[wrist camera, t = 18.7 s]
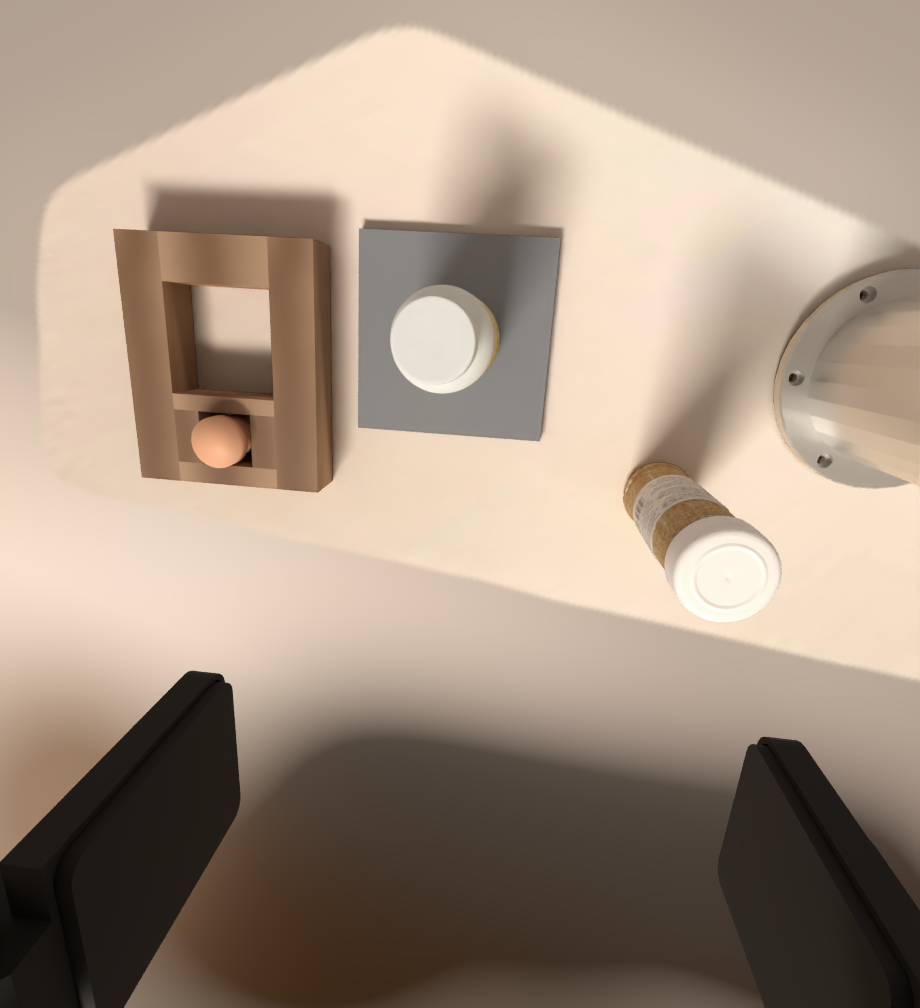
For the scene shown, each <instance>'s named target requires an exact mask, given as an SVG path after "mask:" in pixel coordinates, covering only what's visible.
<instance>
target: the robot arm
mask: <svg viewBox="0 0 920 1008" xmlns="http://www.w3.org/2000/svg"><path fill="white" fill-rule="evenodd" d="M861 292H862V293H863V297H862V299H860V293H861ZM791 373H792V374H793V379H792V380H791V381H789V376H790V374H791ZM773 403H774V411H775V419H776V423H777V425H778V428H779V431H780V434H781V437H782V439H783V440H784V442H785V443H786V445H787V446H788V448H789V450H790V451H791V453H792V454H793V455H794V456H795V457H796V458H797V459H798V460H799V461H800V462H801V463H802V464H803V465H804V466H806V467H808V468H809V469H811V470H812V471H814V472H815V473H817V474H819V475H820V476H823V477H825V478H827V479H830V480H832V481H834V482H836V483H840V484H844V485H847V486H851V487H856V488H868V489H880V488H891V487H898V486H902V485H906V484H910V483H913V484H916V485H918V486H920V268H912V269H901V270H895V271H889V272H884V273H880V274H877V275H874V276H871V277H868V278H865V279H862V280H859V281H857V282H856V283H854V284H852V285H850V286H848V287H846V288H844V289H842V290H840V291H838V292H837V293H836V294H834V295H833V296H832V297H830V298H829V299H828V300H826V301H825V302H824V303H822V304H821V305H819V307H818V308H817V309H816V310H815V311H814V312H813V313H812V314H811V315H810V316H809V317H808V318H807V319H806V320H805V321H804V322H803V323H802V324H801V326H800V327H799V329H798V330H797V332H796V333H795V334H794V336H793V337H792V339H791V340H790V342H789V344H788V346H787V348H786V350H785V352H784V354H783V356H782V358H781V361H780V364H779V368H778V371H777V375H776V379H775V384H774V398H773ZM820 456H821V459H820V460H819V461H818V462H817V460H818V458H819V457H820ZM239 805H240V784H239V770H238V757H237V744H236V730H235V717H234V704H233V691H232V686H231V685H230V684H229V683H225V680H224V677H223V676H222V675H221V674H216V673H208V672H198V671H189V672H187V673H186V674H185V675H184V676H183V677H182V678H181V679H180V680H179V681H178V682H177V683H176V684H175V685H174V686H173V687H172V688H171V689H170V690H169V691H168V692H167V693H166V694H165V695H164V696H163V697H162V698H161V699H160V700H159V701H158V702H157V703H156V704H155V705H154V706H153V707H152V708H151V709H150V710H149V711H148V712H147V713H146V714H145V715H144V716H143V717H142V718H141V719H140V720H139V721H138V722H137V723H136V724H135V725H134V726H133V727H132V729H130V730H129V732H128V733H127V734H126V735H125V736H124V737H123V738H122V739H121V740H120V741H119V742H118V743H117V744H116V745H115V746H114V747H113V748H112V749H111V750H110V751H109V752H108V753H107V754H106V755H105V756H104V757H103V758H102V759H101V760H100V761H99V762H98V763H97V764H96V765H95V766H94V767H93V768H92V769H91V770H90V771H89V772H88V773H87V774H86V775H85V776H84V777H83V778H82V779H81V780H80V781H79V782H78V783H77V784H76V785H75V786H74V787H73V788H72V789H71V790H70V791H69V793H67V794H66V796H64V798H63V799H62V800H61V801H60V802H59V803H58V804H57V805H56V806H55V807H54V808H53V809H52V810H51V811H50V812H49V813H48V814H47V815H46V816H45V817H44V818H43V819H42V820H41V821H40V822H39V823H38V824H37V825H36V826H35V827H34V828H33V829H32V830H31V831H30V832H29V833H28V834H27V835H26V836H25V837H24V838H23V839H22V840H21V841H20V842H19V843H18V844H17V845H16V846H15V847H14V848H13V849H12V850H11V851H10V852H9V854H7V855H6V857H5V858H4V859H3V860H2V861H1V862H0V1008H124V1006H125V1004H126V1003H127V1001H128V999H129V998H130V996H131V994H132V993H133V991H134V989H135V987H136V986H137V984H138V982H139V981H140V979H141V977H142V975H143V974H144V972H145V970H146V969H147V967H148V965H149V964H150V962H151V960H152V958H153V957H154V955H155V953H156V952H157V950H158V948H159V946H160V945H161V943H162V942H163V940H164V938H165V936H166V934H167V933H168V931H169V930H170V928H171V926H172V925H173V923H174V921H175V919H176V918H177V916H178V914H179V913H180V911H181V909H182V907H183V906H184V904H185V902H186V901H187V899H188V897H189V896H190V894H191V892H192V890H193V889H194V887H195V885H196V884H197V882H198V880H199V878H200V877H201V875H202V873H203V872H204V870H205V868H206V867H207V865H208V863H209V862H210V860H211V858H212V856H213V854H214V853H215V851H216V850H217V848H218V846H219V844H220V843H221V841H222V839H223V838H224V836H225V834H226V833H227V831H228V829H229V827H230V826H231V824H232V822H233V821H234V819H235V817H236V814H237V812H238V809H239ZM718 876H719V881H720V885H721V888H722V891H723V893H724V896H725V899H726V902H727V905H728V907H729V910H730V913H731V916H732V918H733V921H734V924H735V926H736V929H737V932H738V935H739V937H740V940H741V943H742V946H743V949H744V951H745V954H746V957H747V960H748V962H749V965H750V968H751V971H752V973H753V976H754V979H755V981H756V984H757V987H758V990H759V993H760V995H761V998H762V1001H763V1004H764V1006H765V1008H920V910H919V909H918V907H917V906H916V904H915V903H914V902H913V900H912V899H911V898H910V896H909V894H908V893H907V892H906V890H905V889H904V887H903V886H902V885H901V883H900V881H899V880H898V879H897V877H896V876H895V874H894V873H893V871H892V870H891V869H890V867H889V866H888V864H887V863H886V861H885V860H884V858H883V857H882V856H881V854H880V853H879V851H878V850H877V849H876V847H875V846H874V845H873V843H872V842H871V841H870V840H869V839H868V837H867V836H866V835H865V833H864V832H863V830H862V829H861V828H860V826H859V825H858V823H857V822H856V820H855V819H854V817H853V816H852V814H851V813H850V811H849V810H848V809H847V807H846V806H845V804H844V803H843V801H842V800H841V798H840V797H839V795H838V794H837V793H836V791H835V790H834V788H833V787H832V785H831V784H830V782H829V781H828V780H827V778H826V777H825V775H824V774H823V772H822V771H821V770H820V768H819V767H818V765H817V764H816V762H815V761H814V759H813V758H812V756H811V755H810V753H809V752H808V751H807V749H806V748H805V746H804V745H803V744H802V743H801V742H799V741H797V740H788V739H780V738H771V737H761V738H760V740H759V741H758V743H757V745H755V744H752V745H750V746H749V747H748V749H747V752H746V756H745V759H744V763H743V767H742V771H741V775H740V779H739V783H738V787H737V790H736V794H735V798H734V802H733V806H732V810H731V813H730V818H729V821H728V825H727V829H726V833H725V837H724V841H723V845H722V848H721V852H720V856H719V860H718Z"/></svg>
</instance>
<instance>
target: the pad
mask: <svg viewBox="0 0 920 1008" xmlns="http://www.w3.org/2000/svg"><path fill="white" fill-rule="evenodd" d="M560 241H561V238H551V237H530V236H509V235H487V234H466V233H445V232H424V231H402V230H381V229H360V228H359V386H358V427H359V428H372V429H385V430H398V431H411V432H424V433H438V434H451V435H464V436H477V437H490V438H503V439H516V440H529V441H540V436H541V426H542V417H543V407H544V397H545V387H546V378H547V368H548V358H549V348H550V339H551V329H552V319H553V310H554V300H555V290H556V280H557V271H558V261H559V251H560ZM433 285H451V286H455V287H459V288H461V289H464V290H466V291H468V292H469V293H471V294H472V295H474V296H475V297H476V298H478V299H479V300H481V301H482V302H483V303H484V304H485V305H486V306H487V307H488V308H489V309H490V311H491V312H492V314H493V315H494V317H495V319H496V322H497V325H498V329H499V348H498V352H497V355H496V357H495V359H494V361H493V363H492V365H491V366H490V367H489V368H488V370H487V371H486V372H485V373H484V374H483V375H482V376H481V377H480V378H479V379H478V380H476V381H475V382H474V383H473V384H471V385H470V386H468V387H466V388H465V389H462V390H460V391H456V392H453V393H445V394H440V393H432V392H428V391H425V390H423V389H421V388H419V387H417V386H415V385H414V384H412V383H411V382H410V381H409V380H408V379H407V378H405V376H404V375H403V374H402V373H401V371H400V370H399V368H398V367H397V365H396V363H395V361H394V358H393V355H392V351H391V345H390V332H391V326H392V322H393V319H394V317H395V315H396V313H397V311H398V309H399V308H400V306H401V305H402V304H403V302H404V301H405V300H406V299H407V298H408V297H409V296H411V295H412V294H414V293H415V292H417V291H418V290H420V289H423V288H425V287H429V286H433Z"/></svg>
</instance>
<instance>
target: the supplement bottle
mask: <svg viewBox="0 0 920 1008" xmlns="http://www.w3.org/2000/svg"><path fill="white" fill-rule="evenodd" d="M390 345H391V351H392V355H393V358H394V361H395V363H396V365H397V367H398V368H399V370H400V371H401V373H402V374H403V375H404V376H405V378H407V379H408V380H409V381H410V382H411V383H412V384H414V385H415V386H417V387H419V388H421V389H423V390H425V391H428V392H432V393H440V394H445V393H453V392H456V391H460V390H462V389H465V388H466V387H468V386H470V385H471V384H473V383H474V382H475V381H476V380H478V379H479V378H480V377H481V376H482V375H483V374H484V373H485V372H486V371H487V370H488V368H489V367H490V366H491V365H492V363H493V361H494V359H495V357H496V355H497V352H498V348H499V329H498V325H497V322H496V319H495V317H494V315H493V314H492V312H491V311H490V309H489V308H488V307H487V306H486V305H485V304H484V303H483V302H482V301H481V300H479V299H478V298H476V297H475V296H474V295H472V294H471V293H469V292H468V291H466V290H464V289H461V288H459V287H455V286H451V285H433V286H429V287H425V288H423V289H420V290H418V291H417V292H415V293H414V294H412V295H411V296H409V297H408V298H407V299H406V300H405V301H404V302H403V304H402V305H401V306H400V308H399V309H398V311H397V313H396V315H395V317H394V319H393V322H392V326H391V332H390Z"/></svg>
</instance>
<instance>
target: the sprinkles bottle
mask: <svg viewBox="0 0 920 1008" xmlns="http://www.w3.org/2000/svg"><path fill="white" fill-rule="evenodd" d="M623 502H624V506H625V509H626V511H627V513H628V514H629V516H630V517H631V519H632V520H633V521H634V522H635V525H636V527H637V529H638V530H639V532H640V534H641V535H642V537H643V539H644V540H645V542H646V544H647V545H648V547H649V549H650V550H651V552H652V554H653V555H654V557H655V558H656V560H657V561H658V563H659V564H660V565H661V566H662V567H663V568H664V570H665V575H666V579H667V581H668V583H669V585H670V587H671V588H672V590H673V591H674V593H675V595H676V596H677V598H678V599H679V600H680V602H681V603H682V604H683V605H684V606H685V607H686V608H687V609H688V610H689V611H690V612H692V613H693V614H695V615H696V616H698V617H701V618H703V619H706V620H710V621H716V622H732V621H737V620H741V619H744V618H747V617H749V616H751V615H753V614H755V613H757V612H758V611H760V610H761V609H762V608H763V607H765V606H766V605H767V604H768V603H769V602H770V600H771V599H772V598H773V596H774V595H775V593H776V591H777V589H778V587H779V583H780V580H781V570H782V569H781V561H780V558H779V555H778V553H777V551H776V549H775V548H774V546H773V545H772V544H771V542H770V541H769V540H768V539H767V538H766V537H764V536H763V535H762V534H761V533H760V532H759V531H758V530H756V529H755V528H754V527H753V526H751V525H750V524H749V523H747V522H745V521H743V520H741V519H738V518H735V517H734V516H733V515H732V514H731V513H730V512H729V510H728V509H727V508H726V507H725V506H724V505H723V504H721V503H720V502H719V501H718V500H717V499H715V498H714V497H713V496H712V495H711V494H709V493H708V492H707V491H706V490H705V489H703V488H702V487H701V486H700V485H699V484H697V483H696V482H695V481H693V480H691V479H690V478H689V476H688V475H687V474H686V473H685V472H684V471H683V470H681V469H680V468H678V467H677V466H675V465H673V464H667V463H652V464H648V465H645V466H644V467H642V468H640V469H638V470H637V471H636V472H635V473H634V474H633V475H632V476H631V477H630V478H629V480H628V481H627V483H626V486H625V489H624V496H623Z"/></svg>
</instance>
